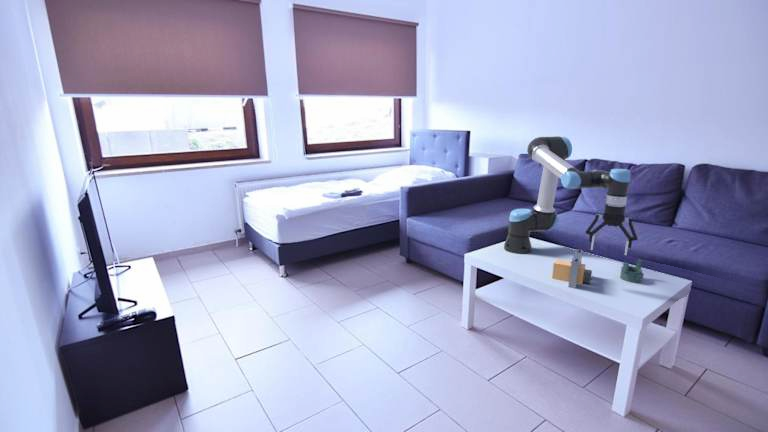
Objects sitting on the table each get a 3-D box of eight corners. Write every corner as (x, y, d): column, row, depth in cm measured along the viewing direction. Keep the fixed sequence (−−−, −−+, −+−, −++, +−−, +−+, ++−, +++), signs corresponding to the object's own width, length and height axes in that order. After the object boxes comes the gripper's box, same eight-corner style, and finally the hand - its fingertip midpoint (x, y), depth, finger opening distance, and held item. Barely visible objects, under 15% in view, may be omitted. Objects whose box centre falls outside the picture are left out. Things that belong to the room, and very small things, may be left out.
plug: (553, 274, 190) (555, 259, 188) (590, 281, 182) (592, 265, 180) (552, 278, 185) (553, 263, 183) (589, 286, 177) (591, 269, 175)
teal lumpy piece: (620, 281, 182) (623, 263, 180) (619, 273, 190) (622, 256, 188) (643, 284, 178) (646, 266, 176) (640, 277, 186) (644, 260, 184)
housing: (572, 272, 191) (576, 247, 188) (579, 274, 190) (583, 248, 186) (568, 286, 176) (571, 259, 173) (575, 288, 174) (579, 261, 171)
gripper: (583, 203, 170) (577, 249, 176) (650, 210, 158) (641, 259, 163) (584, 200, 176) (578, 244, 182) (649, 206, 164) (640, 254, 170)
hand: (608, 251), depth 173 cm, fingers open, 12 cm apart
